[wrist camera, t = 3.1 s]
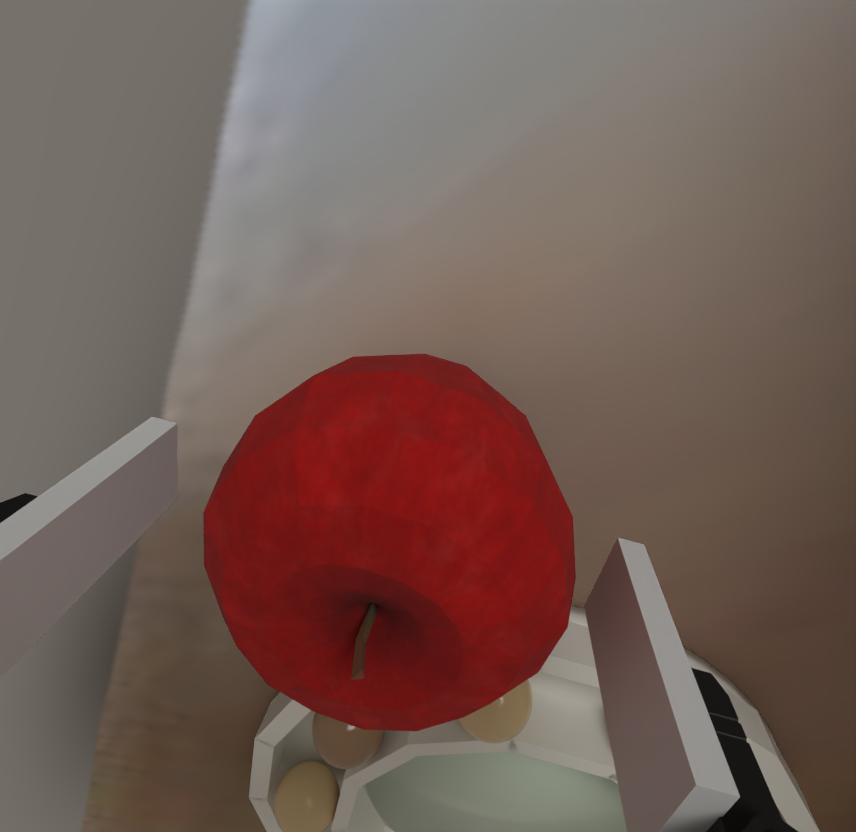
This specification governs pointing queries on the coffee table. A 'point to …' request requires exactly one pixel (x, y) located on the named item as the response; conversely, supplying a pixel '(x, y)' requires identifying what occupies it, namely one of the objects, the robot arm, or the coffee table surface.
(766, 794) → the robot arm
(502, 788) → the bead tray
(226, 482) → the apple
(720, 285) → the coffee table surface
